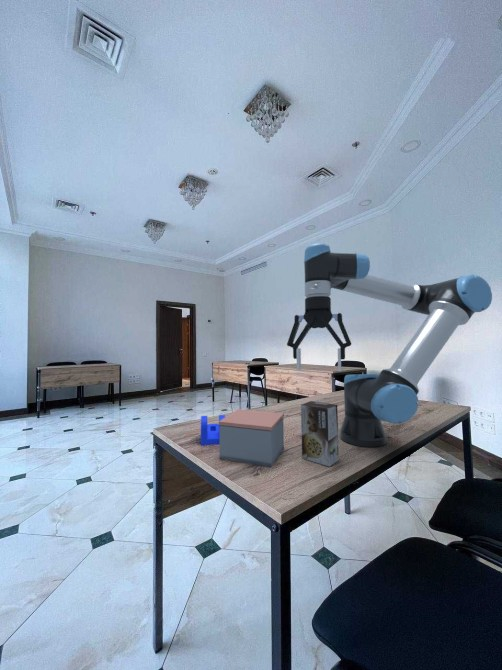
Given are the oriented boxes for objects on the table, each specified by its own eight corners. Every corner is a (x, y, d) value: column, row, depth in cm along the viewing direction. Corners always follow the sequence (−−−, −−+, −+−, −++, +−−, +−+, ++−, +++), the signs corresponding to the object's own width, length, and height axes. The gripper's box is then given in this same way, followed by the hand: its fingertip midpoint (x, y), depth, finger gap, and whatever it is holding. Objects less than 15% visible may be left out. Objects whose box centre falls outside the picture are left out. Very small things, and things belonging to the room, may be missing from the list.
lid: (283, 416, 90) (283, 413, 90) (271, 430, 77) (271, 427, 77) (237, 412, 96) (237, 409, 96) (218, 424, 83) (218, 421, 83)
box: (283, 448, 90) (283, 418, 90) (271, 467, 77) (270, 431, 77) (238, 442, 95) (238, 414, 96) (219, 458, 82) (219, 425, 83)
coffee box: (339, 460, 81) (338, 404, 81) (329, 467, 76) (328, 408, 77) (312, 451, 87) (311, 400, 88) (300, 458, 82) (300, 403, 83)
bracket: (225, 444, 95) (225, 417, 95) (200, 445, 93) (200, 419, 94) (223, 428, 112) (223, 406, 113) (202, 429, 111) (202, 406, 112)
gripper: (276, 297, 84) (277, 370, 83) (360, 292, 75) (361, 372, 75) (282, 301, 91) (283, 368, 90) (359, 296, 82) (361, 370, 82)
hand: (318, 370), depth 82 cm, fingers open, 11 cm apart
